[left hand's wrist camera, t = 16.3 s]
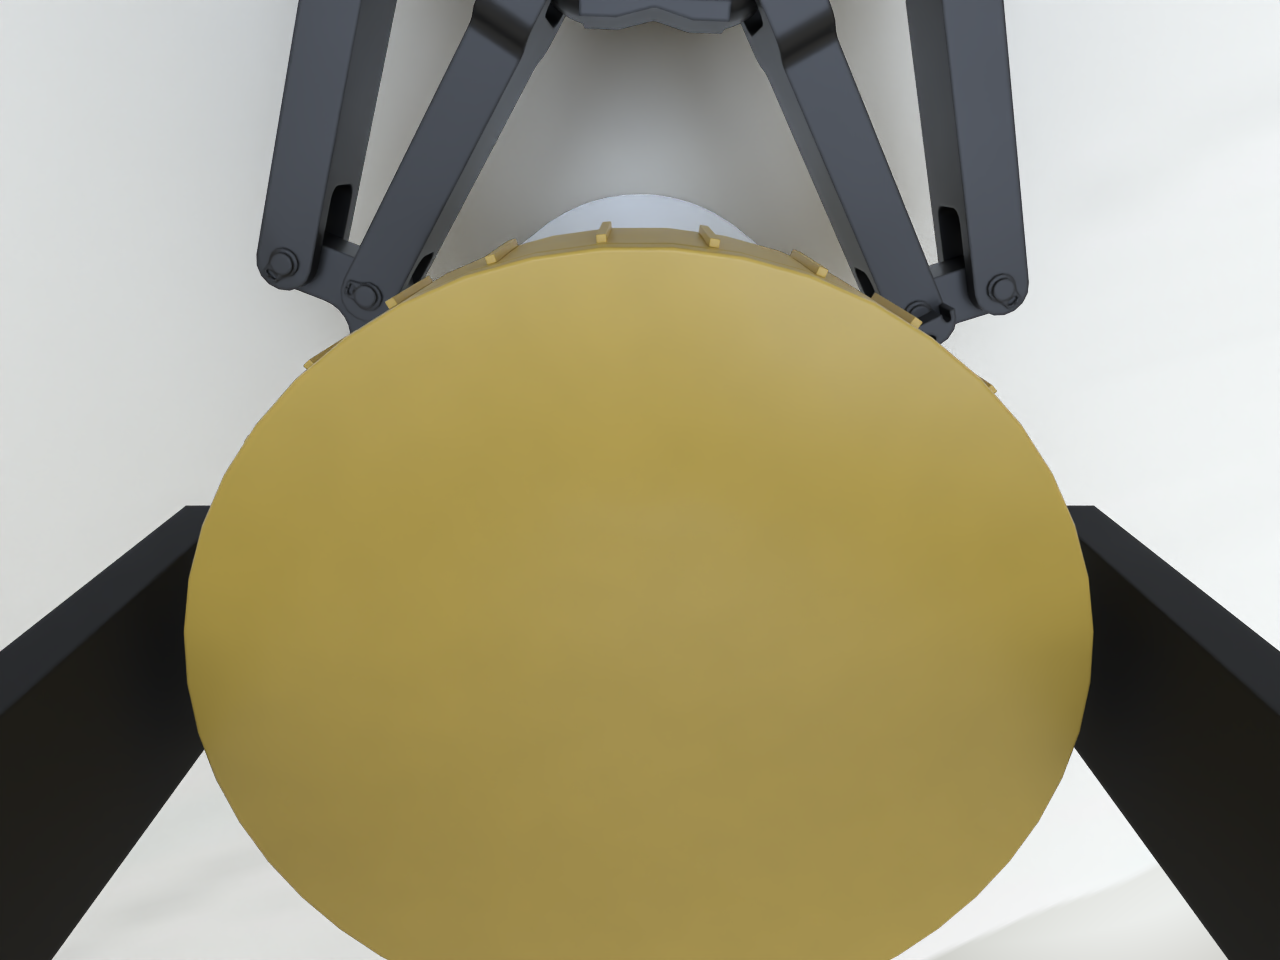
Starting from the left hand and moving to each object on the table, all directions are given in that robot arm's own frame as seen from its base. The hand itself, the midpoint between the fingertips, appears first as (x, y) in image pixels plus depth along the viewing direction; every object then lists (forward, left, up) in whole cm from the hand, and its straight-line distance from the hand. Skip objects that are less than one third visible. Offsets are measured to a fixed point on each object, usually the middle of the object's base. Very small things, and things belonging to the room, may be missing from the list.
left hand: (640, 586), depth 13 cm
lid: (0, 0, +3) cm, 3 cm away
